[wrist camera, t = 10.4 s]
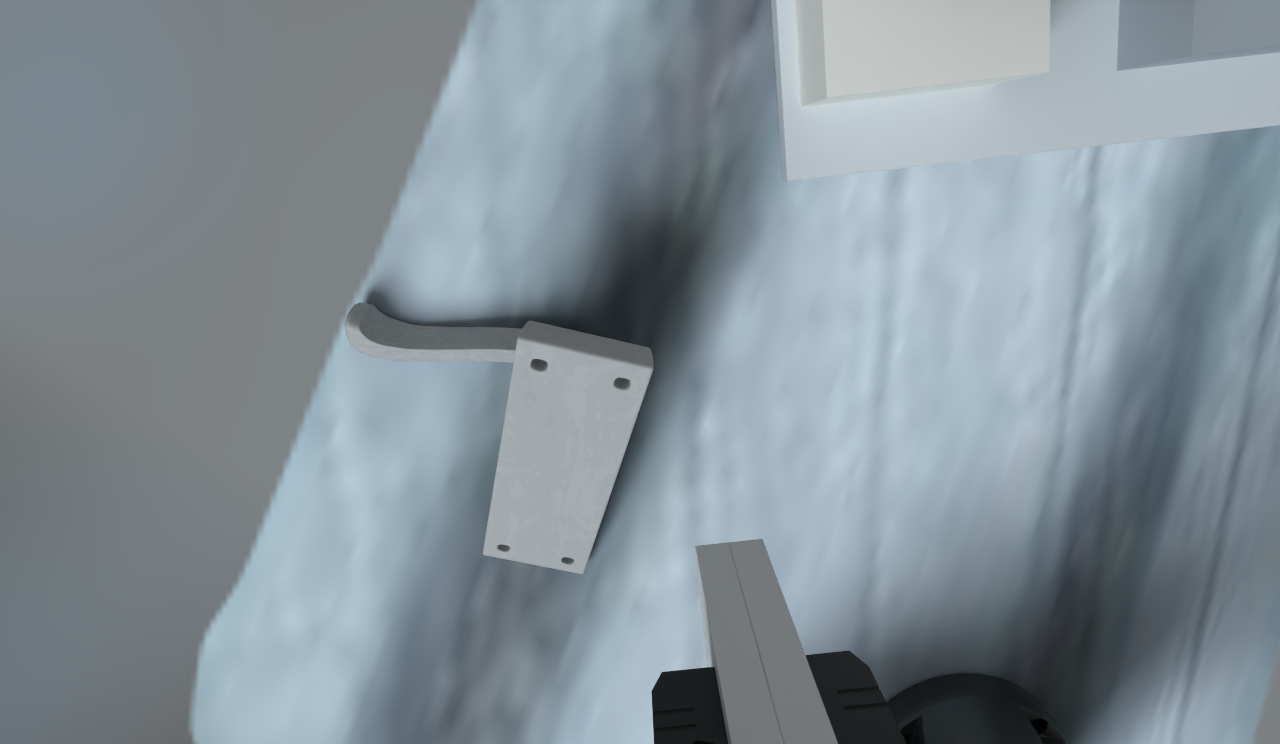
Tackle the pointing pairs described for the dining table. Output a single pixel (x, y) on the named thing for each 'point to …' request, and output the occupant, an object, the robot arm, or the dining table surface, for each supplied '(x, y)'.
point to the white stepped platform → (1012, 77)
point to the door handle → (537, 424)
